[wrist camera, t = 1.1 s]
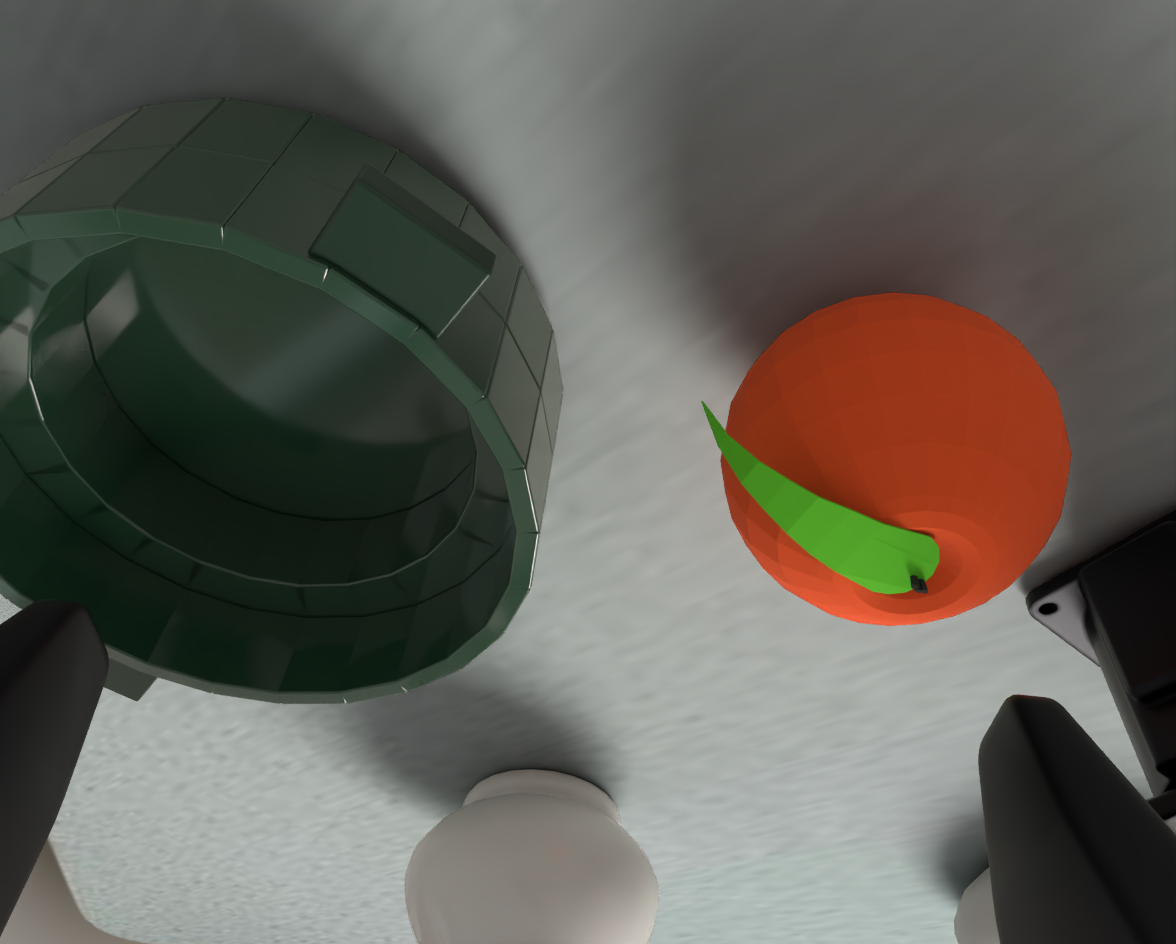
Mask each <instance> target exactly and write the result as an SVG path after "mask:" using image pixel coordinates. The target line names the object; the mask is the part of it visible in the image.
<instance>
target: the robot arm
mask: <svg viewBox="0 0 1176 944" xmlns="http://www.w3.org/2000/svg"><path fill="white" fill-rule="evenodd" d="M1026 605H1027V608H1028V610H1029V613H1030V615H1031V616H1032V617H1033V618H1034V619H1036V620H1037V621H1038V622H1040V623H1041V624H1042V625H1044V626H1045V627H1046V628H1048V629H1049V630H1051V631H1052V632H1053V633H1055V634H1056V635H1057V636H1059V637H1060V638H1061V639H1063V640H1064V641H1065V642H1067V643H1068V644H1069V645H1071V646H1072V647H1074V648H1075V649H1076V650H1078V651H1079V652H1080V653H1082V654H1083V655H1084V656H1086V657H1087V658H1088V659H1090V660H1091V661H1092V662H1094V663H1095V664H1097V665H1098V666H1099V667H1101V669H1102V672H1103V674H1104V677H1105V679H1106V682H1107V684H1108V686H1109V689H1110V691H1111V694H1112V696H1113V699H1114V701H1115V703H1116V706H1117V708H1118V711H1119V713H1120V716H1121V718H1122V720H1123V723H1124V725H1125V728H1126V730H1127V733H1128V735H1129V737H1130V740H1131V742H1132V745H1133V747H1134V750H1135V752H1136V755H1137V757H1138V759H1139V762H1140V764H1141V767H1142V769H1143V772H1144V774H1145V776H1146V779H1147V781H1148V784H1149V786H1150V789H1151V791H1152V793H1153V796H1154V797H1152V798H1150V799H1147V800H1145V799H1144V798H1143V797H1142V796H1141V794H1140V793H1139V792H1138V791H1137V790H1136V789H1135V788H1134V786H1133V785H1132V784H1131V783H1130V782H1129V781H1128V780H1127V779H1126V777H1125V776H1124V775H1123V774H1122V773H1121V772H1120V771H1119V769H1118V768H1117V767H1116V766H1115V765H1114V764H1113V763H1112V762H1111V760H1110V759H1109V758H1108V757H1107V756H1106V755H1105V754H1104V752H1103V751H1102V750H1101V749H1100V748H1099V747H1098V746H1097V745H1096V743H1095V742H1094V741H1093V740H1092V739H1091V738H1090V737H1089V735H1088V734H1087V733H1086V732H1085V731H1084V730H1083V729H1082V727H1081V726H1080V725H1079V724H1078V723H1077V722H1076V721H1075V720H1074V718H1073V717H1072V716H1071V715H1070V714H1069V713H1068V712H1067V710H1066V709H1065V708H1064V707H1063V706H1062V705H1061V704H1059V703H1058V702H1057V701H1055V700H1053V699H1050V698H1047V697H1037V696H1027V695H1012V696H1010V697H1009V698H1007V699H1006V700H1005V701H1004V703H1003V705H1002V706H1001V708H1000V710H999V712H998V713H997V715H996V717H995V718H994V720H993V722H992V724H991V725H990V727H989V729H988V731H987V732H986V734H985V736H984V738H983V740H982V742H981V745H980V749H979V757H978V764H979V775H980V784H981V794H982V803H983V813H984V822H985V832H986V841H987V851H988V860H989V870H990V879H991V889H992V897H993V905H994V912H995V919H996V925H997V930H998V935H999V940H1000V944H1176V510H1175V511H1174V512H1172V513H1170V514H1168V515H1167V516H1165V517H1163V518H1161V519H1159V520H1158V521H1156V522H1154V523H1152V524H1150V525H1149V526H1147V527H1145V528H1143V529H1141V530H1140V531H1138V532H1136V533H1134V534H1133V535H1131V536H1129V537H1127V538H1125V539H1124V540H1122V541H1120V542H1118V543H1116V544H1115V545H1113V546H1111V547H1109V548H1108V549H1106V550H1104V551H1102V552H1100V553H1099V554H1097V555H1095V556H1093V557H1091V558H1090V559H1088V560H1086V561H1084V562H1082V563H1081V564H1079V565H1077V566H1075V567H1074V568H1072V569H1070V570H1068V571H1066V572H1065V573H1063V574H1061V575H1059V576H1057V577H1056V578H1054V579H1052V580H1050V581H1048V582H1047V583H1045V584H1043V585H1041V586H1040V587H1038V588H1036V589H1034V590H1033V591H1031V592H1030V593H1029V594H1028V595H1027V597H1026ZM108 669H109V657H108V652H107V649H106V647H105V645H104V643H103V640H102V638H101V636H100V634H99V631H98V629H97V627H96V625H95V623H94V620H93V618H92V616H91V614H90V611H89V610H88V608H87V607H86V606H85V605H83V604H82V603H80V602H76V601H66V600H55V599H42V600H38V601H36V602H34V603H32V604H30V605H28V606H27V607H25V608H24V609H22V610H21V611H19V612H18V613H17V614H15V615H14V616H12V617H11V618H9V619H8V620H6V621H5V622H3V623H2V624H1V625H0V936H1V934H2V932H3V930H4V928H5V926H6V924H7V922H8V920H9V918H10V915H11V913H12V911H13V909H14V907H15V905H16V903H17V901H18V899H19V897H20V895H21V892H22V890H23V888H24V886H25V884H26V882H27V880H28V878H29V875H30V874H31V872H32V870H33V867H34V865H35V863H36V861H37V859H38V857H39V855H40V853H41V851H42V849H43V846H44V844H45V842H46V840H47V838H48V836H49V833H50V831H51V829H52V827H53V825H54V822H55V820H56V818H57V815H58V813H59V810H60V807H61V805H62V802H63V800H64V797H65V794H66V792H67V789H68V786H69V783H70V780H71V777H72V775H73V772H74V769H75V766H76V763H77V760H78V758H79V755H80V752H81V749H82V746H83V743H84V741H85V738H86V735H87V732H88V729H89V726H90V724H91V721H92V718H93V715H94V712H95V709H96V707H97V704H98V701H99V698H100V695H101V692H102V690H103V687H104V684H105V681H106V678H107V674H108Z"/></svg>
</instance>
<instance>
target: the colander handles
mask: <svg viewBox="0 0 1176 944" xmlns="http://www.w3.org/2000/svg"><path fill="white" fill-rule="evenodd" d="M308 253H309V254H310V255H312V256H314V257H317V258H319V259H322V260H324V261H327V262H329V263H330V264H331V265H334V266H336V267H338V268H339V269H341V270H342V271H344V272H345V273H347V274H348V275H350V276H351V277H353V278H354V279H356V280H357V281H359V282H360V283H362V284H363V285H365V286H366V287H368V288H369V289H371V290H372V291H374V292H375V293H377V294H378V295H380V296H381V297H383V298H384V299H386V300H387V301H389V302H390V303H392V304H393V305H395V306H396V307H398V308H399V309H401V310H402V311H404V312H405V313H407V314H408V315H410V316H411V317H413V318H414V319H416V320H417V321H419V323H420V325H423V326H425V328H426V329H427V330H428V331H429V332H430V333H431V334H432V335H433V336H434V337H435V338H437V339H439V338H440V337H441V336H442V335H443V334H444V332H445V331H446V330H447V329H448V328H449V326H450V325H451V324H452V323H453V322H454V320H455V319H456V318H457V317H458V316H459V314H460V313H461V312H462V311H463V310H464V308H465V307H466V306H467V305H468V304H469V302H470V301H471V300H472V299H473V298H474V296H475V295H476V294H477V293H478V292H479V290H480V289H481V288H482V287H483V286H484V284H485V283H486V282H487V281H488V280H489V278H490V277H491V276H492V273H493V269H494V266H495V263H496V259H497V256H496V255H495V253H493V252H492V251H491V250H489V249H488V248H486V247H485V246H484V245H482V244H481V243H479V242H478V241H477V240H475V239H474V238H473V237H471V236H470V235H468V234H467V233H466V232H464V231H463V230H462V229H460V228H459V227H457V226H456V225H455V224H453V223H452V222H450V221H449V220H448V219H446V218H445V217H444V216H442V215H441V214H439V213H438V212H437V211H435V210H434V209H433V208H431V207H430V206H428V205H427V204H426V203H424V202H423V201H421V200H420V199H419V198H417V197H416V196H415V195H413V194H412V193H410V192H409V191H408V190H406V189H405V188H403V187H402V186H401V185H399V184H398V183H397V182H395V181H394V180H392V179H391V178H390V177H388V176H387V175H386V174H384V173H383V172H381V171H380V170H379V169H377V168H376V167H374V166H373V165H372V164H369V163H367V164H365V165H364V166H363V167H362V169H361V170H360V172H359V173H358V175H357V176H356V178H355V179H354V181H353V183H352V184H351V186H350V187H349V189H348V190H347V192H346V193H345V195H344V196H343V198H342V199H341V201H340V202H339V204H338V205H337V207H336V208H335V210H334V211H333V213H332V214H331V216H330V217H329V219H328V221H327V222H326V224H325V225H324V227H323V228H322V230H321V231H320V233H319V234H318V236H317V237H316V239H315V240H314V242H313V244H312V245H311V247H310V248H309V250H308ZM157 678H158V677H155V676H152V675H148V674H145V673H143V671H142V672H139V671H137V670H135V669H133V668H131V667H128V666H126V665H124V664H122V663H120V662H117V661H115V660H113V659H111V658H109V669H108V674H107V678H106V681H105V684H104V687H105V688H107V689H110V690H112V691H114V692H116V693H119V694H121V695H123V696H126V697H128V698H130V699H132V700H135V701H138V700H140V698H141V697H142V696H143V695H144V694H145V692H146V691H147V690H148V689H149V688H150V686H151V685H152V684H153V683H154V682H155V680H156V679H157Z"/></svg>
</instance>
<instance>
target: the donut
mask: <svg viewBox="0 0 1176 944" xmlns="http://www.w3.org/2000/svg"><path fill="white" fill-rule="evenodd" d="M954 927H955V935H956V938H957V941H958V943H959V944H1000V940H999V935H998V930H997V925H996V919H995V912H994V905H993V897H992V889H991V879H990V870H989V868H987V869H986V870H985V871H984V872H983V873H982V874H981V875H979V876H978V877H977V878H976V879H975V880H974V881H973V882H972V883H971V884H970V885H969V886H968V887H967V888H966V889H965V891H964V892H963V895H962V898H961V901H960V904H959V907H958V910H957V913H956V916H955V919H954Z"/></svg>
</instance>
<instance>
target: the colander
mask: <svg viewBox="0 0 1176 944" xmlns="http://www.w3.org/2000/svg"><path fill="white" fill-rule="evenodd" d="M367 163H369V164H372V165H373V166H374V167H376V168H377V169H379V170H380V171H381V172H383V173H384V174H386V175H387V176H388V177H390V178H391V179H392V180H394V181H395V182H397V183H398V184H399V185H401V186H402V187H403V188H405V189H406V190H408V191H409V192H410V193H412V194H413V195H415V196H416V197H417V198H419V199H420V200H421V201H423V202H424V203H426V204H427V205H428V206H430V207H431V208H433V209H434V210H435V211H437V212H438V213H439V214H441V215H442V216H444V217H445V218H446V219H448V220H449V221H450V222H452V223H453V224H455V225H456V226H457V227H459V228H460V229H462V230H463V231H464V232H466V233H467V234H468V235H470V236H471V237H473V238H474V239H475V240H477V241H478V242H479V243H481V244H482V245H484V246H485V247H486V248H488V249H489V250H491V251H492V252H493V253H495V255H496V256H497V259H496V263H495V266H494V269H493V273H492V276H491V277H490V278H489V280H488V281H487V282H486V283H485V284H484V286H483V287H482V288H481V289H480V290H479V292H478V293H477V294H476V295H475V296H474V298H473V299H472V300H471V301H470V302H469V304H468V305H467V306H466V307H465V308H464V310H463V311H462V312H461V313H460V314H459V316H458V317H457V318H456V319H455V320H454V322H453V323H452V324H451V325H450V326H449V328H448V329H447V330H446V331H445V332H444V334H443V335H442V336H441V337H440V338H439V339H437V338H435V337H434V336H433V335H432V334H431V333H430V332H429V331H428V330H427V329H426V328H425V326H423V325H420V323H419V321H417V320H416V319H414V318H413V317H411V316H410V315H408V314H407V313H405V312H404V311H402V310H401V309H399V308H398V307H396V306H395V305H393V304H392V303H390V302H389V301H387V300H386V299H384V298H383V297H381V296H380V295H378V294H377V293H375V292H374V291H372V290H371V289H369V288H368V287H366V286H365V285H363V284H362V283H360V282H359V281H357V280H356V279H354V278H353V277H351V276H350V275H348V274H347V273H345V272H344V271H342V270H341V269H339V268H338V267H336V266H334V265H331V264H330V263H329V262H327V261H324V260H322V259H319V258H317V257H314V256H312V255H310V254H309V253H308V250H309V248H310V247H311V245H312V244H313V242H314V240H315V239H316V237H317V236H318V234H319V233H320V231H321V230H322V228H323V227H324V225H325V224H326V222H327V221H328V219H329V217H330V216H331V214H332V213H333V211H334V210H335V208H336V207H337V205H338V204H339V202H340V201H341V199H342V198H343V196H344V195H345V193H346V192H347V190H348V189H349V187H350V186H351V184H352V183H353V181H354V179H355V178H356V176H357V175H358V173H359V172H360V170H361V169H362V167H363V166H364V165H365V164H367ZM562 392H563V386H562V380H561V373H560V367H559V361H558V355H557V349H556V343H555V337H554V331H553V329H552V326H551V324H550V322H549V320H548V318H547V316H546V314H545V311H544V309H543V307H542V305H541V303H540V301H539V299H538V297H537V295H536V293H535V291H534V289H533V287H532V284H531V282H530V280H529V278H528V276H527V274H526V272H525V270H524V268H523V266H522V265H520V262H519V261H518V259H517V258H516V257H515V256H514V255H513V254H512V252H511V251H510V250H509V249H508V248H507V246H506V245H505V244H504V243H503V242H502V241H501V239H500V238H499V237H498V236H497V235H496V233H495V232H494V231H493V230H492V229H491V228H490V226H489V225H488V224H487V223H486V222H485V220H484V219H483V218H482V217H481V216H480V215H479V213H478V212H477V211H476V210H475V209H474V207H473V206H472V205H471V204H468V201H467V200H466V199H465V198H463V197H462V196H461V195H459V194H458V193H457V192H455V191H454V190H453V189H451V188H450V187H449V186H447V185H446V184H444V183H443V182H442V181H440V180H439V179H438V178H436V177H435V176H434V175H432V174H431V173H430V172H428V171H427V170H426V169H424V168H423V167H421V166H420V165H419V164H417V163H416V162H415V161H413V160H412V159H411V158H409V157H408V156H407V155H405V154H404V153H403V152H401V151H399V150H398V151H397V149H396V148H394V147H391V146H389V145H387V144H385V143H382V142H380V141H378V140H375V139H373V138H371V137H368V136H366V135H364V134H362V133H359V132H357V131H355V130H352V129H350V128H348V127H345V126H343V125H341V124H339V123H336V122H334V121H332V120H329V119H327V118H325V117H322V116H320V115H318V114H314V115H313V114H312V113H310V112H304V111H299V110H293V109H287V108H281V107H276V106H270V105H264V104H258V103H253V102H247V101H241V100H236V99H230V98H229V99H226V98H217V99H206V100H196V101H186V102H175V103H165V104H155V105H147V106H145V107H140V108H137V109H135V110H133V111H131V112H128V113H126V114H124V115H122V116H119V117H117V118H115V119H112V120H110V121H108V122H106V123H103V124H101V125H99V126H97V127H94V128H92V129H90V130H88V131H85V132H83V133H81V134H79V135H78V136H77V137H75V138H74V139H72V140H71V141H70V142H68V143H67V144H66V145H65V146H63V147H62V148H61V149H60V150H58V151H57V152H56V153H55V154H53V155H52V156H51V157H49V158H48V159H47V160H46V161H44V162H43V163H42V164H41V165H39V166H38V167H37V168H36V169H34V170H33V171H32V172H30V173H29V174H28V175H27V176H25V177H24V178H23V179H22V180H20V181H19V182H18V183H17V184H15V185H14V186H13V187H12V188H10V189H9V190H7V191H6V192H5V193H4V194H2V195H1V196H0V594H1V595H3V596H4V597H5V598H6V599H8V600H9V599H10V600H9V601H10V602H11V603H13V604H15V605H16V606H18V607H19V608H21V609H24V608H25V607H27V606H28V605H30V604H32V603H34V602H36V601H38V600H42V599H55V600H66V601H76V602H80V603H82V604H83V605H85V606H86V607H87V608H88V610H89V611H90V614H91V616H92V618H93V620H94V623H95V625H96V627H97V629H98V631H99V634H100V636H101V638H102V640H103V643H104V645H105V647H106V649H107V652H108V657H109V658H111V659H113V660H115V661H117V662H120V663H122V664H124V665H126V666H128V667H131V668H133V669H135V670H137V671H139V672H142V671H143V673H145V674H148V675H152V676H155V677H158V678H162V679H165V680H168V681H172V682H175V683H178V684H182V685H185V686H189V687H192V688H195V689H199V690H202V691H205V692H209V693H212V692H213V693H214V694H219V695H225V696H232V697H238V698H245V699H252V700H258V701H265V702H272V703H278V704H279V703H282V704H345V703H353V702H359V701H364V700H370V699H375V698H380V697H386V696H391V695H396V694H402V693H406V692H407V691H408V692H410V691H412V690H415V689H417V688H419V687H422V686H424V685H426V684H428V683H431V682H433V681H435V680H438V679H440V678H442V677H445V676H447V675H449V674H452V673H454V672H456V671H459V670H460V669H462V668H463V667H465V666H466V665H467V664H468V663H469V662H471V661H472V660H473V659H474V658H476V657H477V656H478V655H479V654H480V653H482V652H483V651H484V650H485V649H487V648H488V647H489V646H490V645H491V644H493V643H494V642H495V641H496V640H498V639H499V638H500V637H501V636H502V634H504V633H505V631H506V629H507V628H508V626H509V624H510V623H511V621H512V619H513V618H514V616H515V614H516V613H517V611H518V609H519V608H520V606H521V604H522V603H523V601H524V599H525V598H526V596H527V594H528V593H529V591H530V588H531V586H532V580H533V574H534V568H535V562H536V556H537V550H538V544H539V537H540V531H541V525H542V519H543V513H544V507H545V501H546V495H547V489H548V483H549V477H550V471H551V465H552V458H553V452H554V446H555V440H556V434H557V428H558V421H559V415H560V409H561V403H562V396H563V393H562Z"/></svg>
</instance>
